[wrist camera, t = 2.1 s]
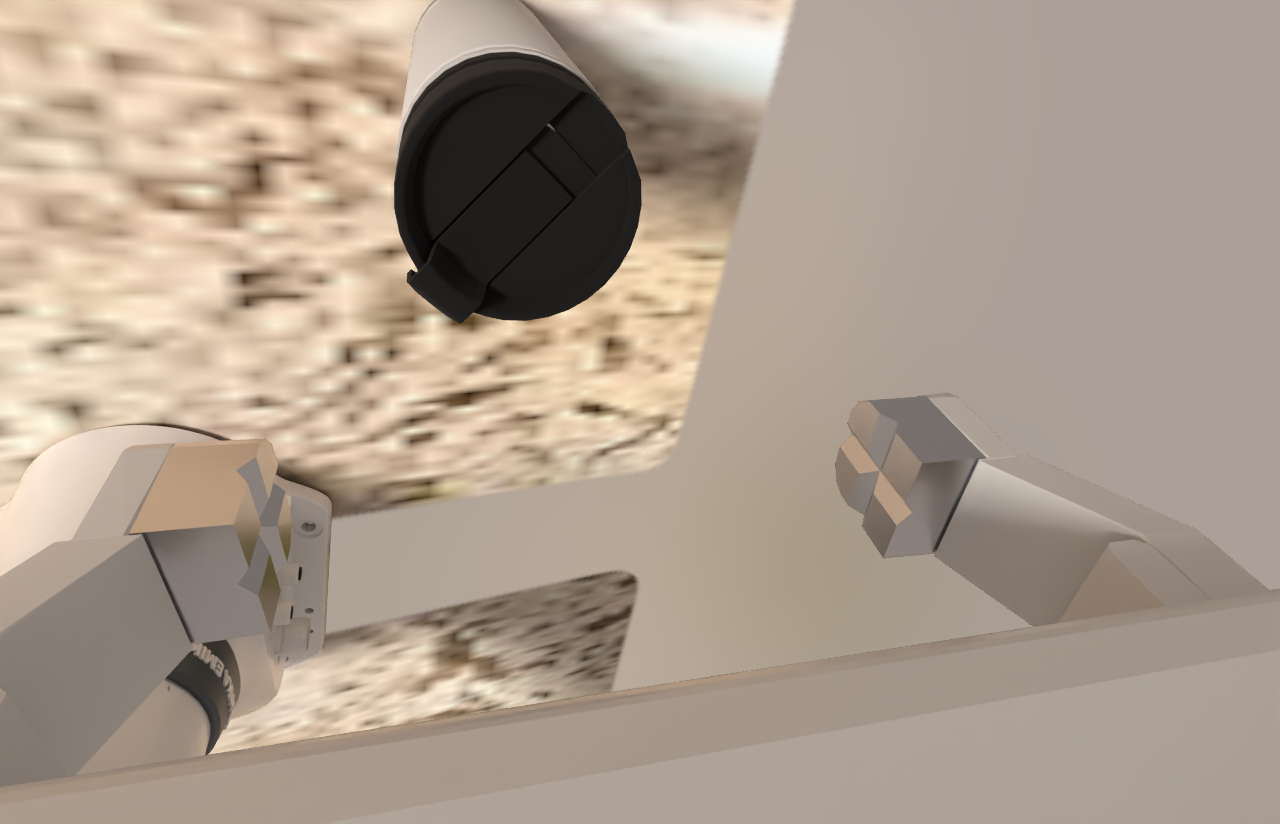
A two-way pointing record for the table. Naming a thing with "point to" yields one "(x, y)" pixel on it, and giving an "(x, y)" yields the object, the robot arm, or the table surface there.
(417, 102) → the travel mug
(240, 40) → the table surface
